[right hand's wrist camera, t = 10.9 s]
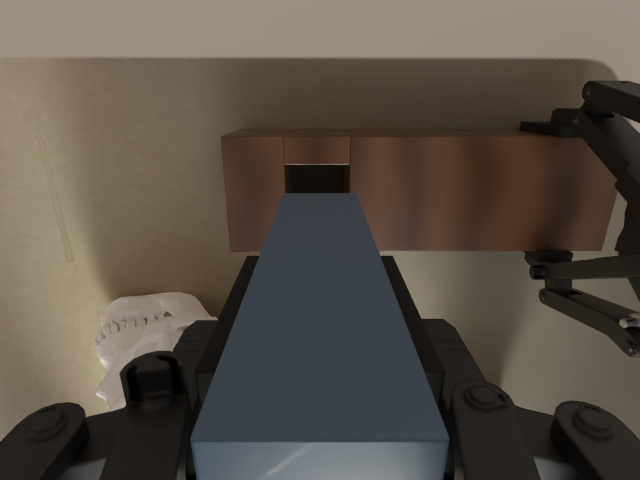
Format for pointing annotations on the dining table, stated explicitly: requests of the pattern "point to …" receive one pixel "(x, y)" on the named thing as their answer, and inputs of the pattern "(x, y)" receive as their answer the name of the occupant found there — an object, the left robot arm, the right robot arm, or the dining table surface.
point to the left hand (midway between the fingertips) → (525, 181)
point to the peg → (319, 363)
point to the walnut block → (431, 187)
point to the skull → (141, 334)
